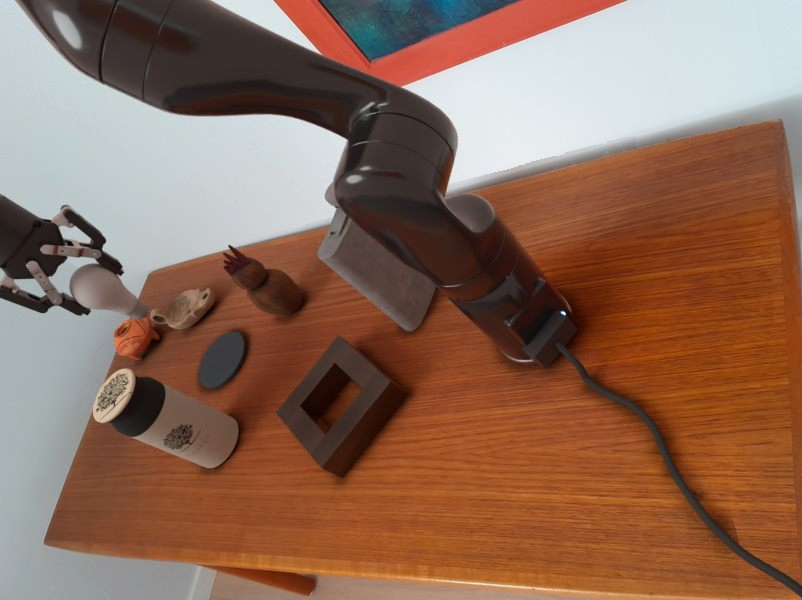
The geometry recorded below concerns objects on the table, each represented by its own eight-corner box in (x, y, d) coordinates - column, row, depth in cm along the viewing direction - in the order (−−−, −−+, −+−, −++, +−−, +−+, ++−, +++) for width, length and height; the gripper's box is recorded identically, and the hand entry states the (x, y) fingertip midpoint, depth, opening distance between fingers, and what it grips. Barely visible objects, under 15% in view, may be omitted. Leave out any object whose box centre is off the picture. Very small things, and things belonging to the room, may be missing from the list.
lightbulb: (168, 296, 93) (97, 253, 85) (148, 334, 91) (74, 294, 83) (144, 296, 96) (74, 255, 88) (125, 334, 94) (51, 295, 86)
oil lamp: (224, 287, 117) (202, 272, 113) (217, 322, 113) (194, 307, 109) (174, 310, 123) (151, 296, 119) (165, 344, 118) (141, 331, 115)
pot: (125, 353, 124) (99, 330, 119) (161, 327, 125) (136, 303, 121) (134, 374, 118) (107, 350, 113) (171, 346, 119) (146, 322, 115)
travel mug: (198, 436, 101) (91, 389, 88) (236, 407, 99) (133, 354, 86) (203, 479, 96) (90, 435, 82) (243, 449, 94) (134, 399, 81)
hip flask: (430, 233, 95) (343, 138, 80) (454, 230, 92) (368, 131, 78) (400, 331, 89) (298, 248, 74) (424, 330, 86) (325, 244, 72)
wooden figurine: (311, 285, 104) (240, 229, 93) (304, 316, 101) (230, 263, 90) (280, 294, 107) (208, 242, 96) (272, 325, 104) (197, 274, 93)
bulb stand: (409, 394, 83) (390, 381, 80) (342, 478, 82) (320, 468, 79) (356, 348, 92) (338, 334, 89) (295, 423, 91) (275, 412, 88)
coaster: (255, 349, 104) (252, 348, 103) (214, 400, 103) (211, 398, 103) (232, 323, 110) (229, 322, 110) (193, 370, 110) (190, 369, 109)
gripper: (-64, 277, 74) (75, 345, 86) (22, 178, 74) (148, 259, 87) (-68, 254, 79) (64, 321, 91) (12, 161, 79) (132, 240, 92)
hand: (104, 291), depth 89 cm, fingers closed on lightbulb, 6 cm apart
